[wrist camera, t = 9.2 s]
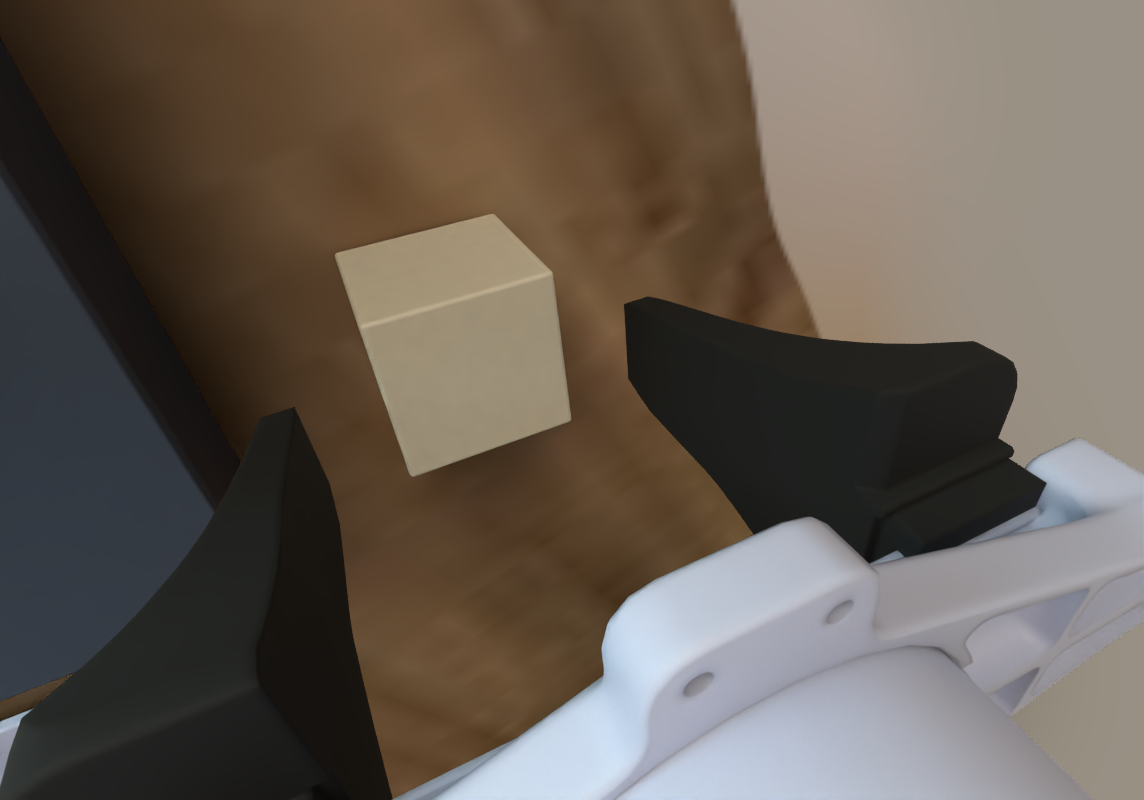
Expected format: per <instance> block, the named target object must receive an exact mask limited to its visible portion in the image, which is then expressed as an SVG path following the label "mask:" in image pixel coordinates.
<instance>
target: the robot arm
mask: <svg viewBox="0 0 1144 800" xmlns="http://www.w3.org/2000/svg"><path fill="white" fill-rule="evenodd" d="M624 311H625V328H626V346H627V363H628V379H629V380H630V382H631V383H632V385H633V387H634V388H635V390H636V391H637V393H638V394H639V396H640V397H641V399H642V400H643V401H644V403H645V404H646V406H647V407H648V409H649V410H650V411H651V412H652V413H653V415H654V416H655V417H656V418H657V419H658V420H659V421H660V422H661V423H662V424H663V426H664V427H665V428H666V429H667V430H668V431H669V432H670V433H671V434H672V435H673V436H674V437H675V438H676V440H677V441H678V442H679V443H680V444H681V445H682V446H683V447H684V448H685V449H686V450H687V451H688V452H689V453H690V454H691V455H692V457H693V458H694V459H695V460H696V461H697V462H698V463H699V464H700V465H701V466H702V467H703V468H704V469H705V470H706V472H707V473H708V474H709V475H710V476H711V477H712V479H713V480H714V481H715V482H716V483H717V484H718V486H719V487H720V488H721V490H722V491H723V492H724V494H725V495H726V497H727V498H728V499H729V501H730V502H731V503H732V505H733V506H734V507H735V509H736V510H737V511H738V513H739V514H740V516H741V517H742V518H743V520H744V521H745V523H746V524H747V526H748V527H749V529H750V530H751V531H752V533H753V534H754V535H752V536H750V537H748V538H746V539H743V540H741V541H739V542H737V543H735V544H732V545H730V546H728V547H726V548H723V549H721V550H719V551H717V552H715V553H712V554H710V555H708V556H706V557H703V558H701V559H699V560H697V561H695V562H692V563H690V564H688V565H686V566H683V567H681V568H679V569H677V570H675V571H672V572H670V573H668V574H666V575H663V576H661V577H659V578H657V579H655V580H653V581H652V582H650V583H649V584H647V585H646V586H644V587H643V588H641V589H640V590H638V591H636V592H635V593H633V594H632V595H630V596H629V597H628V598H627V599H626V600H625V602H624V603H623V604H622V605H621V606H620V608H619V609H618V610H617V611H616V612H615V614H614V615H613V616H612V617H611V618H610V620H609V622H608V625H607V628H606V632H605V636H604V640H603V644H602V648H601V649H602V657H603V665H604V676H602V677H601V678H599V679H598V680H596V681H595V682H594V683H592V684H591V685H590V686H588V687H587V688H585V689H584V690H583V691H581V692H580V693H578V694H577V695H576V696H574V697H573V698H572V699H570V700H569V701H567V702H566V703H565V704H563V705H562V706H560V707H559V708H558V709H556V710H555V711H554V712H552V713H551V714H549V715H548V716H547V717H545V718H544V719H542V720H541V721H540V722H538V723H537V724H536V725H534V726H533V727H531V728H530V729H529V730H527V731H526V732H524V733H523V734H522V735H520V736H519V737H518V738H516V739H514V740H512V741H510V742H508V743H506V744H503V745H501V746H499V747H497V748H495V749H493V750H491V751H489V752H487V753H485V754H483V755H481V756H479V757H477V758H475V759H473V760H471V761H469V762H467V763H465V764H463V765H461V766H459V767H457V768H455V769H453V770H451V771H449V772H447V773H445V774H443V775H441V776H439V777H437V778H435V779H433V780H431V781H429V782H426V783H424V784H422V785H420V786H418V787H416V788H414V789H412V790H410V791H408V792H406V793H404V794H402V795H400V796H398V797H396V798H394V799H393V798H392V794H391V791H390V787H389V783H388V779H387V776H386V772H385V768H384V764H383V760H382V756H381V752H380V748H379V744H378V740H377V736H376V732H375V728H374V724H373V720H372V716H371V712H370V708H369V703H368V699H367V695H366V691H365V687H364V683H363V678H362V674H361V670H360V665H359V661H358V656H357V652H356V648H355V643H354V639H353V633H352V627H351V621H350V613H349V604H348V595H347V585H346V576H345V567H344V557H343V549H342V540H341V531H340V523H339V519H338V515H337V511H336V507H335V503H334V499H333V496H332V492H331V488H330V484H329V481H328V479H327V477H326V475H325V473H324V471H323V468H322V466H321V464H320V462H319V460H318V458H317V455H316V453H315V451H314V449H313V447H312V445H311V442H310V440H309V438H308V436H307V434H306V431H305V429H304V427H303V425H302V423H301V421H300V418H299V416H298V414H297V412H296V410H295V408H294V407H293V408H290V409H287V410H284V411H280V412H277V413H274V414H271V415H268V416H264V417H262V418H261V420H260V421H259V423H258V425H257V427H256V430H255V432H254V434H253V437H252V439H251V441H250V443H249V446H248V448H247V450H246V453H245V455H244V457H243V459H242V461H241V463H240V466H239V468H238V470H237V472H236V474H235V476H234V478H233V480H232V482H231V484H230V486H229V488H228V490H227V491H226V493H225V495H224V497H223V499H222V500H221V502H220V504H219V506H218V507H217V509H216V511H215V513H214V514H213V516H212V518H211V519H210V521H209V523H208V525H207V526H206V528H205V529H204V531H203V532H202V534H201V535H200V537H199V538H198V540H197V541H196V543H195V544H194V545H193V547H192V548H191V549H190V551H189V552H188V554H187V555H186V556H185V558H184V559H183V560H182V562H181V563H180V564H179V566H178V567H177V568H176V569H175V571H174V572H173V573H172V574H171V575H170V576H169V578H168V579H167V580H166V581H165V582H164V583H163V585H162V586H161V587H160V588H159V589H158V590H157V592H156V593H155V594H154V595H153V596H152V597H151V598H150V600H149V601H148V602H147V603H146V604H145V605H144V607H143V608H142V609H141V610H140V611H139V612H138V613H137V614H136V615H135V616H134V617H133V618H132V619H131V620H130V621H129V622H128V623H127V624H126V625H125V627H124V628H123V629H122V630H121V631H120V632H119V633H118V634H117V635H116V636H115V637H114V638H112V639H111V640H110V641H109V642H108V643H107V644H106V645H105V646H104V647H103V648H102V649H101V650H100V651H99V652H98V653H97V654H96V655H95V656H94V657H93V658H91V659H90V660H89V661H88V662H87V663H86V664H85V665H84V666H83V667H82V668H80V669H79V670H78V671H77V672H76V673H75V674H73V675H72V676H71V677H70V678H69V679H68V680H66V681H65V682H64V683H63V684H62V685H61V686H59V687H58V688H57V689H56V690H55V691H54V692H52V693H51V694H50V695H49V696H48V697H47V698H45V699H44V700H43V701H42V702H41V703H39V704H38V705H37V706H36V707H35V708H33V709H31V710H28V711H26V712H23V713H21V714H18V715H16V716H13V717H10V718H8V719H5V720H3V721H0V800H1094V799H1093V798H1092V797H1091V796H1090V795H1089V794H1088V793H1087V792H1086V791H1085V790H1084V789H1083V788H1082V787H1081V786H1080V785H1079V784H1078V783H1077V782H1076V781H1075V780H1074V779H1073V778H1072V777H1071V776H1070V775H1069V774H1068V773H1067V772H1066V771H1065V770H1064V769H1063V768H1061V767H1060V766H1059V765H1058V764H1057V763H1056V762H1055V761H1054V760H1053V759H1052V758H1051V757H1050V756H1049V755H1048V754H1047V753H1046V752H1045V751H1044V750H1043V749H1042V748H1041V747H1040V746H1039V745H1038V744H1037V743H1036V742H1035V741H1034V740H1033V739H1032V738H1031V737H1030V736H1029V735H1028V734H1027V733H1026V732H1025V731H1024V730H1022V729H1021V728H1020V727H1019V726H1018V725H1017V724H1016V723H1015V722H1014V721H1013V720H1012V719H1011V718H1010V717H1011V716H1013V715H1014V714H1015V713H1017V712H1018V711H1019V710H1021V709H1022V708H1023V707H1025V706H1026V705H1027V704H1029V703H1030V702H1031V701H1032V700H1034V699H1035V698H1037V697H1038V696H1039V695H1041V694H1042V693H1043V692H1045V691H1046V690H1047V689H1049V688H1050V687H1051V686H1053V685H1054V684H1055V683H1057V682H1058V681H1059V680H1061V679H1062V678H1063V677H1065V676H1066V675H1067V674H1069V673H1070V672H1072V671H1073V670H1074V669H1076V668H1077V667H1078V666H1080V665H1081V664H1083V663H1084V662H1085V661H1087V660H1088V659H1089V658H1091V657H1092V656H1094V655H1095V654H1096V653H1098V652H1099V651H1101V650H1102V649H1104V648H1105V647H1107V646H1108V645H1110V644H1111V643H1113V642H1114V641H1115V640H1117V639H1118V638H1120V637H1121V636H1123V635H1124V634H1126V633H1127V632H1129V631H1131V630H1132V629H1133V628H1135V627H1137V626H1138V625H1140V624H1141V623H1143V622H1144V473H1142V472H1140V471H1138V470H1137V469H1135V468H1133V467H1131V466H1129V465H1128V464H1126V463H1124V462H1122V461H1120V460H1119V459H1117V458H1115V457H1113V456H1111V455H1110V454H1108V453H1106V452H1105V451H1103V450H1101V449H1099V448H1097V447H1096V446H1094V445H1092V444H1090V443H1088V442H1087V441H1085V440H1083V439H1081V438H1075V439H1072V440H1070V441H1068V442H1065V443H1063V444H1061V445H1059V446H1057V447H1055V448H1053V449H1051V450H1049V451H1047V452H1045V453H1043V454H1041V455H1039V456H1038V457H1036V458H1034V459H1033V460H1032V461H1031V462H1030V463H1029V464H1028V465H1027V466H1026V467H1025V469H1024V468H1023V467H1021V466H1020V465H1018V464H1017V463H1015V462H1013V461H1012V460H1010V459H1009V458H1010V457H1012V456H1013V453H1014V450H1013V447H1012V446H1010V445H1008V444H1007V443H1005V442H1003V441H1002V440H1000V439H999V438H998V437H999V435H1000V432H1001V429H1002V427H1003V424H1004V422H1005V419H1006V417H1007V414H1008V412H1009V409H1010V407H1011V404H1012V402H1013V399H1014V395H1015V392H1016V389H1017V371H1016V368H1015V366H1014V363H1013V362H1012V361H1010V360H1009V359H1008V358H1006V357H1004V356H1002V355H1001V354H999V353H996V352H995V351H993V350H991V349H989V348H987V347H985V346H983V345H981V344H979V343H977V342H974V341H969V342H948V343H927V344H881V343H861V342H849V341H838V340H828V339H819V338H812V337H806V336H800V335H794V334H788V333H782V332H777V331H773V330H768V329H764V328H760V327H756V326H752V325H748V324H744V323H740V322H736V321H733V320H729V319H726V318H722V317H719V316H715V315H712V314H709V313H705V312H702V311H699V310H696V309H692V308H689V307H686V306H683V305H679V304H676V303H673V302H669V301H666V300H662V299H658V298H653V297H645V298H642V299H639V300H635V301H632V302H629V303H626V304H624Z"/></svg>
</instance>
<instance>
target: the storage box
mask: <svg viewBox="0 0 1144 800" xmlns="http://www.w3.org/2000/svg"><path fill="white" fill-rule="evenodd" d="M239 466H240V462H239V461H238V459H237V457H236V455H235V453H234V452H233V450H232V448H231V446H230V445H229V443H228V441H227V439H226V438H225V436H224V434H223V432H222V430H221V429H220V427H219V425H218V423H217V422H216V420H215V418H214V416H213V415H212V413H211V411H210V409H209V407H208V406H207V404H206V402H205V400H204V399H203V397H202V395H201V393H200V392H199V390H198V388H197V386H196V384H195V383H194V381H193V379H192V377H191V376H190V374H189V372H188V370H187V369H186V367H185V365H184V363H183V361H182V360H181V358H180V356H179V354H178V353H177V351H176V349H175V347H174V346H173V344H172V342H171V340H170V338H169V337H168V335H167V333H166V331H165V330H164V328H163V326H162V324H161V323H160V321H159V319H158V317H157V315H156V314H155V312H154V310H153V308H152V307H151V305H150V303H149V301H148V300H147V298H146V296H145V294H144V292H143V291H142V289H141V287H140V285H139V284H138V282H137V280H136V278H135V277H134V275H133V273H132V271H131V269H130V268H129V266H128V264H127V262H126V261H125V259H124V257H123V255H122V254H121V252H120V250H119V248H118V246H117V245H116V243H115V241H114V239H113V238H112V236H111V234H110V232H109V231H108V229H107V227H106V225H105V223H104V222H103V220H102V218H101V216H100V215H99V213H98V211H97V209H96V208H95V206H94V204H93V202H92V200H91V199H90V197H89V195H88V193H87V192H86V190H85V188H84V186H83V185H82V183H81V181H80V179H79V177H78V176H77V174H76V172H75V170H74V169H73V167H72V165H71V163H70V162H69V160H68V158H67V156H66V154H65V153H64V151H63V149H62V147H61V146H60V144H59V142H58V140H57V138H56V137H55V135H54V133H53V131H52V130H51V128H50V126H49V124H48V123H47V121H46V119H45V117H44V115H43V114H42V112H41V110H40V108H39V107H38V105H37V103H36V101H35V100H34V98H33V96H32V94H31V92H30V91H29V89H28V87H27V85H26V84H25V82H24V80H23V78H22V77H21V75H20V73H19V71H18V69H17V68H16V66H15V64H14V62H13V61H12V59H11V57H10V55H9V54H8V52H7V50H6V48H5V46H4V45H3V43H2V41H1V39H0V701H2V700H4V699H7V698H10V697H12V696H15V695H17V694H20V693H23V692H25V691H28V690H31V689H33V688H36V687H38V686H41V685H44V684H46V683H49V682H51V681H54V680H57V679H59V678H62V677H64V676H67V675H70V674H72V673H75V672H77V671H78V670H79V669H80V668H82V667H83V666H84V665H85V664H86V663H87V662H88V661H89V660H90V659H91V658H93V657H94V656H95V655H96V654H97V653H98V652H99V651H100V650H101V649H102V648H103V647H104V646H105V645H106V644H107V643H108V642H109V641H110V640H111V639H112V638H114V637H115V636H116V635H117V634H118V633H119V632H120V631H121V630H122V629H123V628H124V627H125V625H126V624H127V623H128V622H129V621H130V620H131V619H132V618H133V617H134V616H135V615H136V614H137V613H138V612H139V611H140V610H141V609H142V608H143V607H144V605H145V604H146V603H147V602H148V601H149V600H150V598H151V597H152V596H153V595H154V594H155V593H156V592H157V590H158V589H159V588H160V587H161V586H162V585H163V583H164V582H165V581H166V580H167V579H168V578H169V576H170V575H171V574H172V573H173V572H174V571H175V569H176V568H177V567H178V566H179V564H180V563H181V562H182V560H183V559H184V558H185V556H186V555H187V554H188V552H189V551H190V549H191V548H192V547H193V545H194V544H195V543H196V541H197V540H198V538H199V537H200V535H201V534H202V532H203V531H204V529H205V528H206V526H207V525H208V523H209V521H210V519H211V518H212V516H213V514H214V513H215V511H216V509H217V507H218V506H219V504H220V502H221V500H222V499H223V497H224V495H225V493H226V491H227V490H228V488H229V486H230V484H231V482H232V480H233V478H234V476H235V474H236V472H237V470H238V468H239Z"/></svg>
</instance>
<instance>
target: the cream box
mask: <svg viewBox="0 0 1144 800" xmlns="http://www.w3.org/2000/svg"><path fill="white" fill-rule="evenodd" d="M335 259H336V262H337V265H338V268H339V271H340V274H341V277H342V280H343V283H344V286H345V289H346V292H347V295H348V298H349V301H350V304H351V307H352V310H353V313H354V316H355V319H356V322H357V325H358V328H359V331H360V334H361V337H362V340H363V342H364V345H365V348H366V351H367V354H368V357H369V360H370V362H371V365H372V368H373V371H374V374H375V377H376V380H377V382H378V385H379V388H380V391H381V394H382V397H383V400H384V402H385V405H386V408H387V411H388V414H389V417H390V420H391V422H392V425H393V428H394V431H395V434H396V437H397V440H398V442H399V445H400V448H401V451H402V454H403V457H404V460H405V462H406V465H407V468H408V471H409V474H410V475H411V476H412V477H414V476H418V475H421V474H423V473H426V472H429V471H432V470H435V469H438V468H440V467H443V466H446V465H449V464H452V463H454V462H457V461H460V460H463V459H466V458H469V457H471V456H474V455H477V454H480V453H483V452H485V451H488V450H491V449H494V448H497V447H500V446H502V445H505V444H508V443H511V442H514V441H516V440H519V439H522V438H525V437H528V436H531V435H533V434H536V433H539V432H542V431H545V430H547V429H550V428H553V427H556V426H559V425H561V424H564V423H567V422H569V421H571V412H570V404H569V396H568V388H567V380H566V372H565V364H564V357H563V349H562V341H561V333H560V325H559V317H558V309H557V302H556V294H555V286H554V278H553V273H552V272H551V270H550V269H549V268H548V267H547V266H546V265H545V264H544V263H543V262H542V261H541V260H540V259H539V258H538V257H537V256H536V255H535V254H534V253H533V252H532V251H531V250H530V249H529V248H528V247H527V246H526V245H525V244H524V243H523V242H522V241H521V240H520V239H519V238H518V237H517V236H516V235H515V234H514V233H512V232H511V231H510V230H509V229H508V228H507V227H506V226H505V225H504V224H503V223H502V222H501V221H500V220H499V219H498V218H497V217H496V216H495V215H494V214H489V215H485V216H481V217H477V218H473V219H469V220H465V221H461V222H457V223H453V224H449V225H445V226H441V227H437V228H434V229H430V230H426V231H422V232H418V233H414V234H410V235H406V236H402V237H398V238H394V239H390V240H386V241H382V242H378V243H374V244H370V245H366V246H362V247H358V248H354V249H350V250H346V251H342V252H338V253H336V254H335Z"/></svg>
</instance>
